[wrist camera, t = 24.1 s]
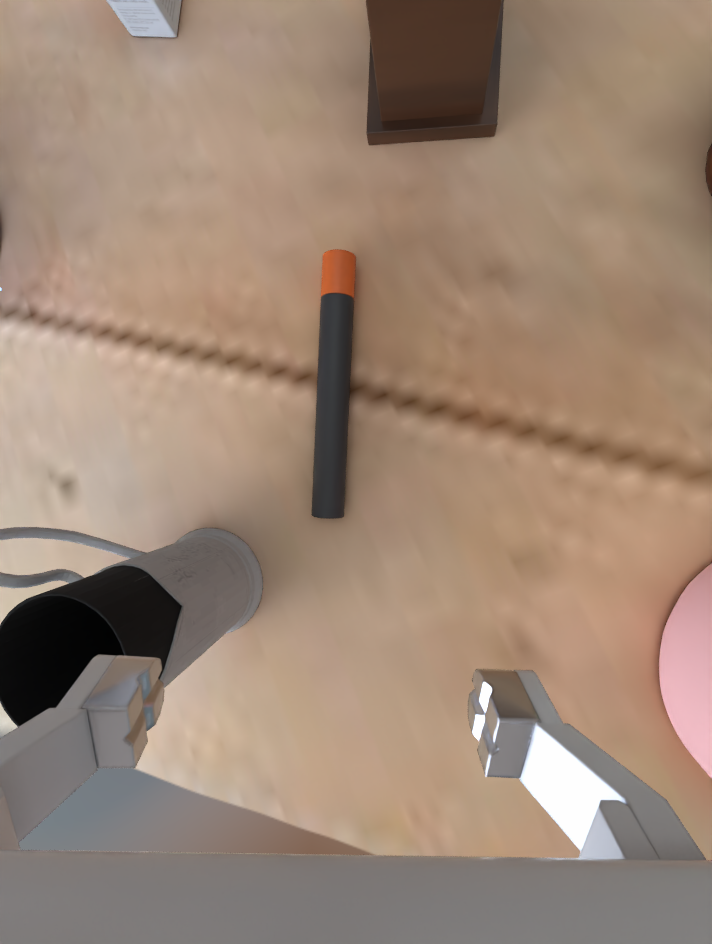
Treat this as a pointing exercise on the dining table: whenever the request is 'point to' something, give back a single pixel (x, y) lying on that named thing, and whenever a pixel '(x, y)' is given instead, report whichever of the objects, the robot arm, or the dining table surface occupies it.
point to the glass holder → (122, 612)
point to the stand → (433, 69)
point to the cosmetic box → (148, 16)
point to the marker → (333, 384)
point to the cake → (690, 668)
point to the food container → (709, 170)
